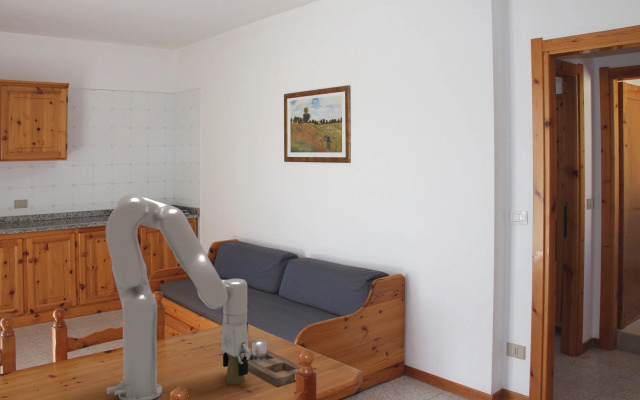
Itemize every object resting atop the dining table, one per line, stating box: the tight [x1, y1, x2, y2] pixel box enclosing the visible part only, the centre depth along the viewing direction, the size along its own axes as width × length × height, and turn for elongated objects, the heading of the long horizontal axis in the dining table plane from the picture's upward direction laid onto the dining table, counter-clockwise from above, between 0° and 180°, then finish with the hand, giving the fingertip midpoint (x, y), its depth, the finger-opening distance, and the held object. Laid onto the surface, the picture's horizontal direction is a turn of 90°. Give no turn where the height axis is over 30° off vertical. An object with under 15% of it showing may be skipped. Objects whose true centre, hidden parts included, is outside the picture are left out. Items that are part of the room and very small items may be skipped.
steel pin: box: [251, 338, 268, 362], centre depth 190 cm, size 5×5×8 cm
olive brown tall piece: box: [225, 352, 245, 385], centre depth 176 cm, size 6×6×11 cm
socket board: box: [242, 349, 301, 387], centre depth 186 cm, size 13×27×2 cm, turn 39°
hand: (235, 370), depth 176 cm, fingers open, 9 cm apart
